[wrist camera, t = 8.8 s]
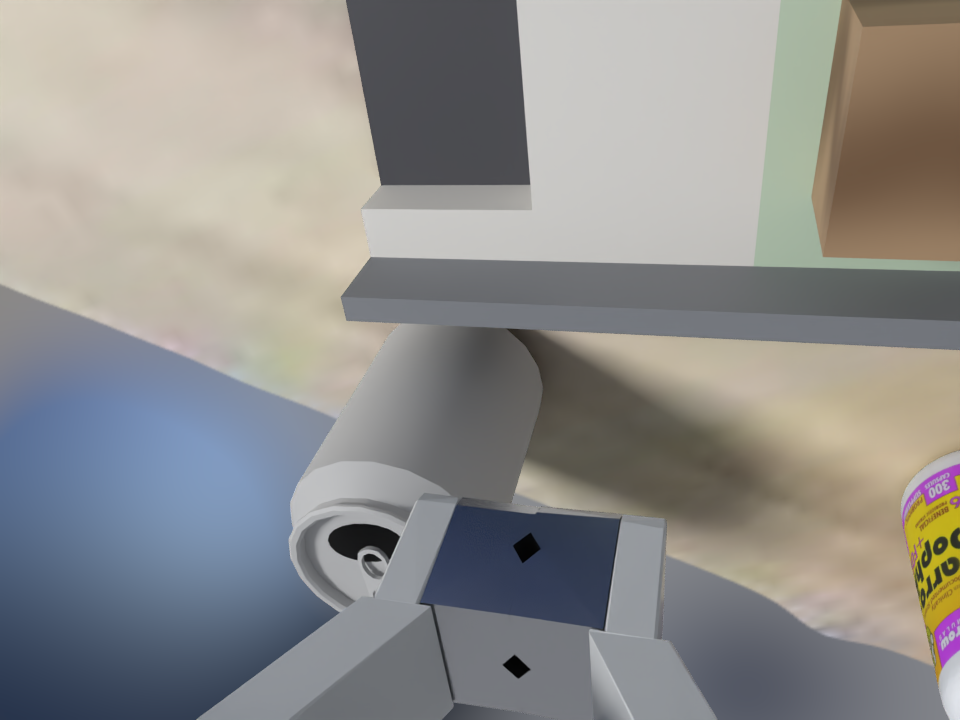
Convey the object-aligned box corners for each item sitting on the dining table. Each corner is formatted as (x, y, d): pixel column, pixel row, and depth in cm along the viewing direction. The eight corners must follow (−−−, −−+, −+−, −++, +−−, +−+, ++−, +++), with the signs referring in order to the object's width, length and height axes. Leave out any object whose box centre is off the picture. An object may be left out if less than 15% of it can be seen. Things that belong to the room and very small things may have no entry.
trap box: (321, -146, 25) (237, -131, 21) (1441, -287, 18) (1670, -308, 13) (396, 249, 33) (346, 320, 28) (1187, 267, 26) (1279, 365, 21)
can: (512, 282, 32) (423, 486, 23) (568, 420, 36) (512, 646, 27) (360, 316, 35) (227, 509, 26) (426, 440, 39) (330, 649, 30)
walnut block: (843, -10, 21) (862, 26, 18) (1101, -23, 20) (1171, 14, 17) (811, 197, 25) (823, 257, 22) (1029, 199, 23) (1075, 264, 20)
